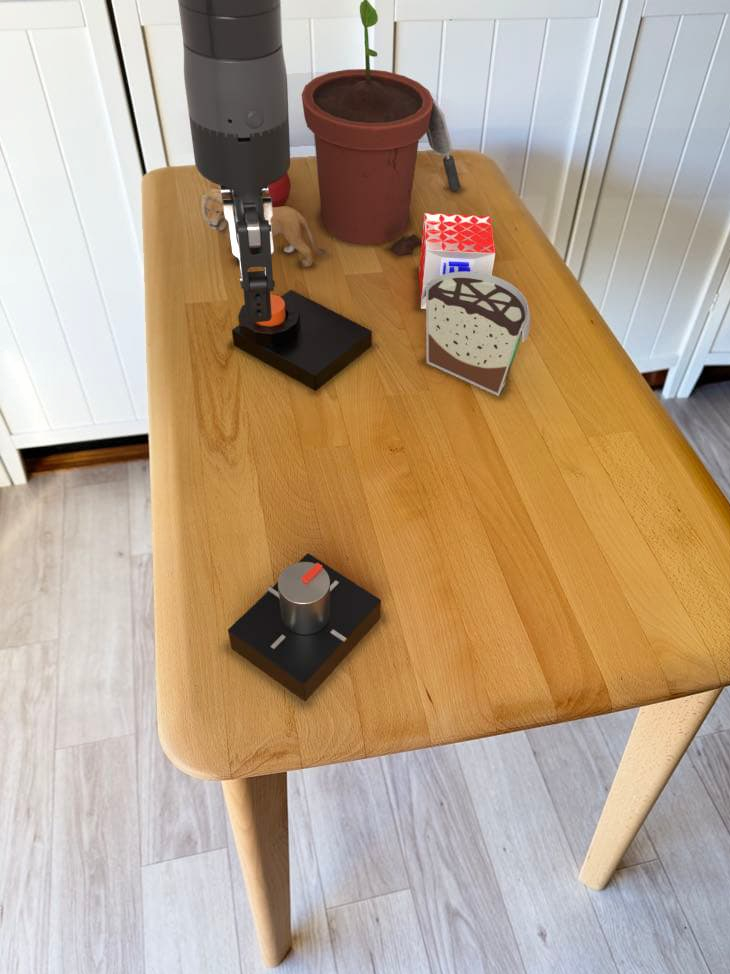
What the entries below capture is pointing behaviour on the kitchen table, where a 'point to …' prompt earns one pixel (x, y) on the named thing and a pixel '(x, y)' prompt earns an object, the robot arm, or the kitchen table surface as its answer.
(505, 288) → the food container
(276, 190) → the tomato
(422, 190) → the kitchen table surface
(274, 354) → the black button box
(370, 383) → the kitchen table surface
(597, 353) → the kitchen table surface
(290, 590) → the dial
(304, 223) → the lion figurine
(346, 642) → the dial panel
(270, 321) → the button
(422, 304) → the red white box
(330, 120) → the potted plant
